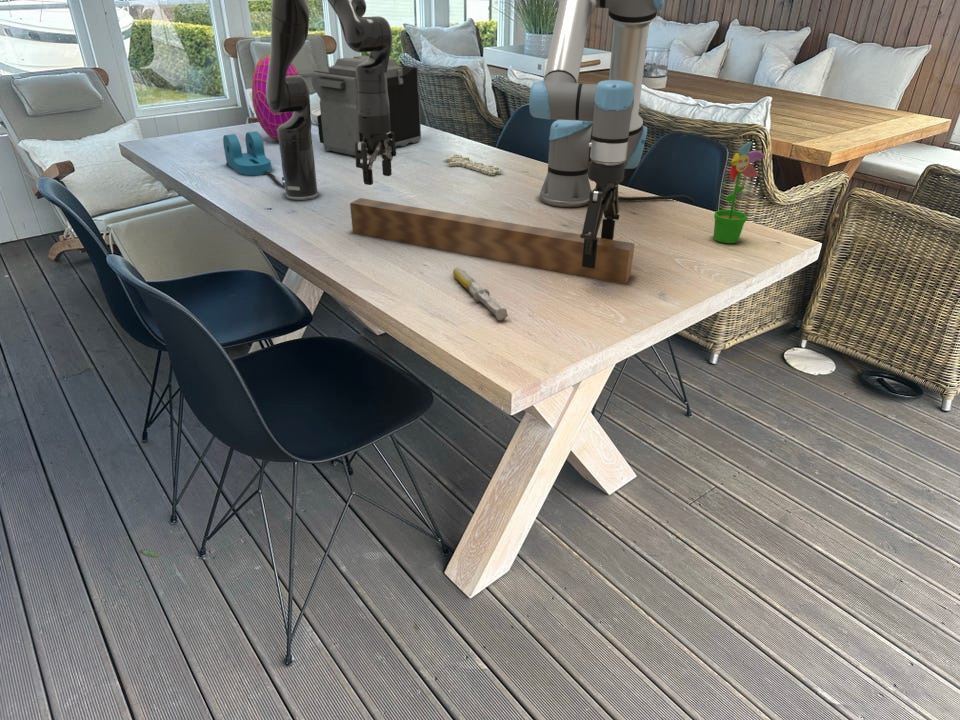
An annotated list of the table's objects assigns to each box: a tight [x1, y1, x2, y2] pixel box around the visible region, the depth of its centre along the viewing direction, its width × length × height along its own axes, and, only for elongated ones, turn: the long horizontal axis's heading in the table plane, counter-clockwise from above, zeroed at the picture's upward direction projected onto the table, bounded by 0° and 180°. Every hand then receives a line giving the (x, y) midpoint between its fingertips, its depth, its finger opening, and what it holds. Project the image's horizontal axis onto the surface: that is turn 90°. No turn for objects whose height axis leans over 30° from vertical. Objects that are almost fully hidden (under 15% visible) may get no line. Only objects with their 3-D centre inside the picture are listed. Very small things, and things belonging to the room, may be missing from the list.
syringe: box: [452, 266, 509, 321], centre depth 145 cm, size 25×4×3 cm, turn 21°
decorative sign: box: [445, 154, 501, 176], centre depth 234 cm, size 26×1×10 cm
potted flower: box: [713, 141, 766, 244], centre depth 170 cm, size 9×8×25 cm
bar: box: [349, 197, 636, 285], centre depth 164 cm, size 72×5×8 cm, turn 65°
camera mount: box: [222, 131, 272, 176], centre depth 226 cm, size 18×10×10 cm, turn 35°
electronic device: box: [310, 55, 422, 157], centre depth 250 cm, size 37×22×30 cm, turn 144°
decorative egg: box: [251, 54, 301, 141], centre depth 257 cm, size 19×19×30 cm
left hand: (378, 179), depth 169 cm, fingers open, 8 cm apart
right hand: (597, 257), depth 154 cm, fingers open, 13 cm apart
